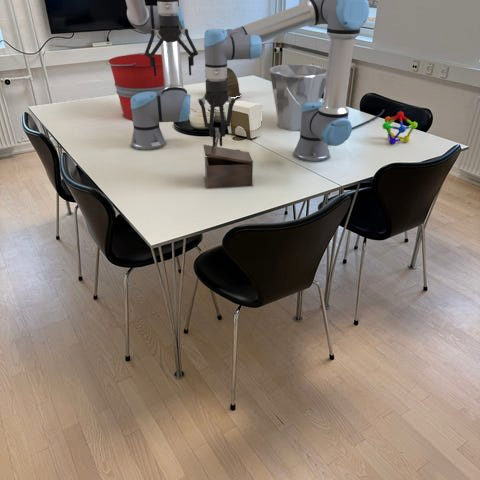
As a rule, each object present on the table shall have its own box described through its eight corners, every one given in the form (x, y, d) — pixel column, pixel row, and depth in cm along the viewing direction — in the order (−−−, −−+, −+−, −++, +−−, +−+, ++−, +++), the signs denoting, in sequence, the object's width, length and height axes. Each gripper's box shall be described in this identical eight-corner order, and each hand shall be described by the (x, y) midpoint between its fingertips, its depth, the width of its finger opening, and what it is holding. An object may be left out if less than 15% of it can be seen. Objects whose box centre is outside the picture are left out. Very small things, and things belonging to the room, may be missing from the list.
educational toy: (377, 146, 209) (379, 114, 202) (384, 138, 219) (386, 107, 211) (411, 149, 202) (415, 116, 195) (417, 141, 212) (420, 109, 204)
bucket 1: (122, 105, 264) (115, 51, 248) (181, 105, 263) (177, 51, 248) (106, 122, 235) (96, 62, 219) (171, 123, 234) (167, 63, 218)
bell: (227, 105, 294) (202, 96, 282) (238, 66, 289) (213, 55, 277) (243, 108, 280) (217, 98, 268) (255, 66, 275) (229, 55, 263)
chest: (207, 188, 167) (206, 166, 163) (205, 177, 176) (204, 156, 171) (252, 185, 169) (252, 164, 165) (248, 175, 178) (248, 154, 173)
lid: (205, 156, 160) (209, 133, 156) (203, 146, 169) (207, 124, 165) (252, 164, 165) (258, 142, 160) (248, 154, 173) (253, 133, 169)
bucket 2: (296, 138, 215) (301, 78, 201) (255, 124, 234) (256, 68, 219) (335, 125, 232) (342, 70, 217) (294, 113, 251) (297, 61, 236)
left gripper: (133, 15, 158) (140, 77, 169) (203, 15, 161) (205, 76, 172) (134, 13, 164) (141, 73, 176) (201, 13, 167) (203, 72, 179)
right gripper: (195, 82, 148) (198, 149, 160) (239, 81, 149) (238, 147, 162) (194, 77, 154) (196, 142, 166) (236, 76, 156) (235, 140, 168)
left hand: (172, 75), depth 174 cm, fingers open, 13 cm apart
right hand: (217, 145), depth 164 cm, fingers closed on lid, 2 cm apart
